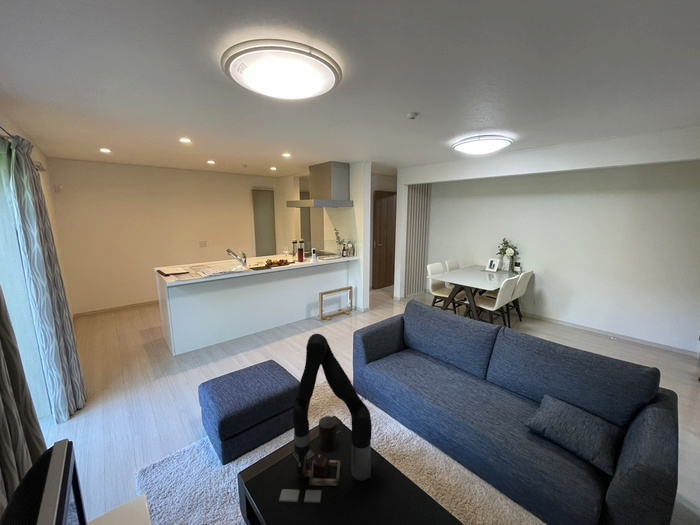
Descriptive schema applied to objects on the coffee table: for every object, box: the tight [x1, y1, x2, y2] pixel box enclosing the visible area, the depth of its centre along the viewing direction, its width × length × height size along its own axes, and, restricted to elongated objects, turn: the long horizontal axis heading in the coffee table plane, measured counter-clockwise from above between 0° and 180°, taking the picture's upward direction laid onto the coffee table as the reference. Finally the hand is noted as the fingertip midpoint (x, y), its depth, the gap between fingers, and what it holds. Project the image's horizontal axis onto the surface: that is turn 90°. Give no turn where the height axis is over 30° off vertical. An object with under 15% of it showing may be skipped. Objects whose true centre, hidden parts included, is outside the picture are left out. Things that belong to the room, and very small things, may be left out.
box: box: [312, 454, 330, 479], centre depth 139 cm, size 6×6×7 cm
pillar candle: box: [318, 415, 338, 452], centre depth 156 cm, size 10×10×15 cm
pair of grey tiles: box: [278, 488, 322, 504], centre depth 128 cm, size 18×5×1 cm, turn 88°
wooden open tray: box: [303, 459, 341, 487], centre depth 138 cm, size 20×11×6 cm, turn 88°
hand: (303, 469), depth 138 cm, fingers open, 8 cm apart
